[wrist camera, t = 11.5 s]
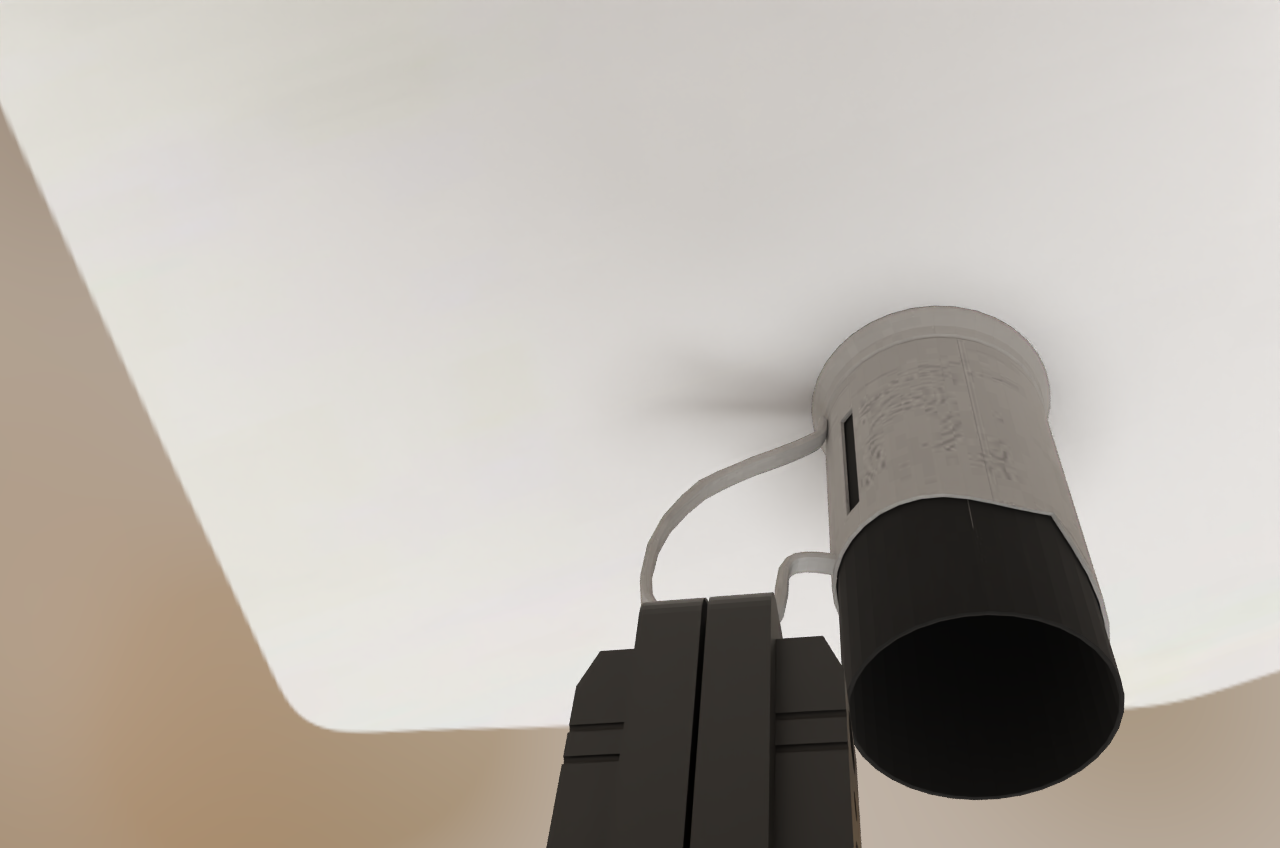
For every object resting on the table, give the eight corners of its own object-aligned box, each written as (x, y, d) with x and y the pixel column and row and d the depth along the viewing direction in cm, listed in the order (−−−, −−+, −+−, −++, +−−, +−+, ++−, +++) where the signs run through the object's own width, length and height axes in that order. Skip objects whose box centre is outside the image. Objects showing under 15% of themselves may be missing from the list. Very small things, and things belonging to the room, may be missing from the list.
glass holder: (1017, 512, 48) (1096, 831, 36) (660, 470, 49) (617, 771, 36) (1078, 320, 43) (1195, 615, 31) (679, 276, 44) (637, 549, 31)
